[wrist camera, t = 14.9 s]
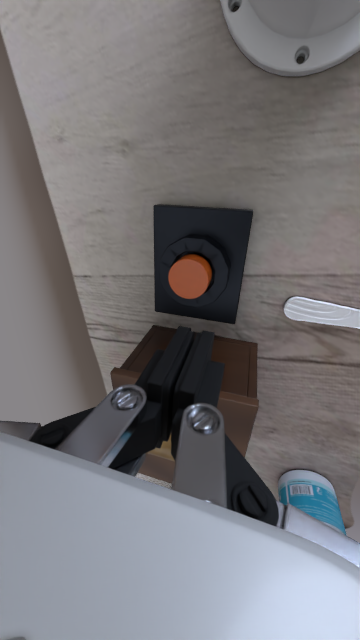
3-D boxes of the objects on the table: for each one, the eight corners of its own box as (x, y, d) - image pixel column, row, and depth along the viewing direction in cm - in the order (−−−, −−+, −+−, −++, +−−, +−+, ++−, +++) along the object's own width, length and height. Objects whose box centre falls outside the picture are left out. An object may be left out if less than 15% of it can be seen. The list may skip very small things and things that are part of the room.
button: (175, 252, 23) (168, 256, 21) (214, 255, 22) (210, 261, 20) (174, 288, 24) (168, 296, 23) (210, 293, 24) (206, 301, 22)
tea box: (153, 324, 31) (119, 368, 23) (257, 343, 28) (257, 399, 20) (154, 408, 38) (129, 462, 30) (238, 429, 35) (232, 494, 27)
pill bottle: (306, 505, 38) (326, 640, 27) (266, 479, 38) (270, 604, 26) (346, 488, 34) (391, 639, 23) (303, 459, 34) (326, 597, 23)
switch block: (158, 204, 24) (144, 206, 21) (253, 209, 22) (252, 212, 19) (159, 306, 29) (148, 319, 26) (235, 318, 27) (233, 333, 24)
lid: (114, 366, 22) (79, 411, 18) (258, 399, 19) (258, 461, 15) (128, 462, 30) (107, 509, 26) (232, 495, 27) (227, 554, 23)
